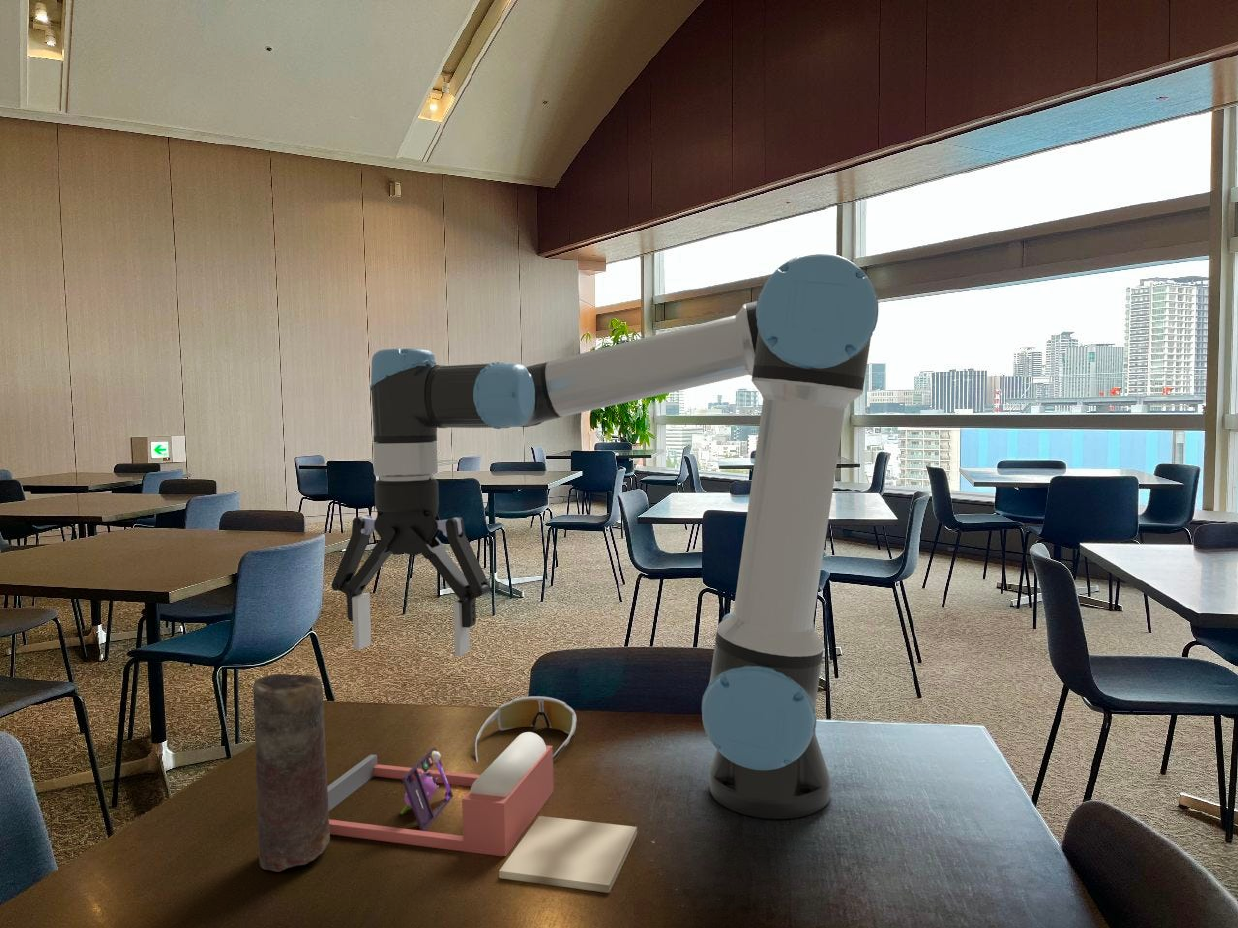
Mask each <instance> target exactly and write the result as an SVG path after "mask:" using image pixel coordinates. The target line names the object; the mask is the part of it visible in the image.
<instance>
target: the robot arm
mask: <svg viewBox="0 0 1238 928" xmlns="http://www.w3.org/2000/svg"><path fill="white" fill-rule="evenodd" d="M878 320H879V301H878V296H877V294H876V290H875V288H874V286H873V283H872V282H871V280H870V279H869V277H868V276H867V274H866V273H865V272H864V270H862V269H861V268H860V267H859V266H858V265H857V264H855V263H854V261H853V262H852V261H851V260H850V259H848V258H845V257H843V256H840V255H836V254H834V253H829V252H811V253H805V254H802V255H797V256H795V257H794V258H791V259H789V260H787V261H786V262H785V263H783V264H782V265H780V266H778V267H777V269H775V270H774V272H773V273H771V275H770V276H769V277H768V279H767V280H766V282H765V284H764V285H763V288H762V290H761V292H760V293H759V295H758V298H757V300H756V301H752V302H748V303H744V304H743V305H742V306H741V308H740V309H739V311H738V312H737V313H736V314H735V315H731V316H727V317H722V318H718V319H715V320H711V321H706V322H703V323H699V324H695V325H690V326H687V327H682V328H678V329H674V330H670V331H666V332H662V333H658V334H654V335H650V336H646V337H643V338H642V337H641V338H637V339H635V340H630V341H627V342H626V341H625V342H622V343H618V344H614V345H610V346H606V347H601V348H598V349H593V350H590V351H586V352H581V353H578V354H573V355H569V356H566V357H560V358H557V359H553V360H550V361H547V362H542V363H537V364H532V365H529V366H525V365H523V364H520V363H507V362H499V361H495V362H491V363H474V364H457V365H443V364H442V365H441V364H437V362H436V359H435V354H434V353H433V352H432V350H428V349H423V348H387V349H380V350H377V351H376V352H375V353H374V354H373V356H372V359H371V372H370V373H371V374H370V377H371V378H370V385H369V390H370V392H371V409H372V411H371V412H372V427H373V429H372V430H373V444H372V447H373V449H372V451H373V453H372V454H373V475H374V476H376V477H379V479H377V480H376V481H375V482H374V505H375V509H376V512H377V513H376V515H377V516H376V517H374V518H373V517H372V516H371V515H369V514H366V515H363V516H362V515H361V516H358V517H357V516H356V517H354V519H353V520H352V527H351V537H350V539H349V541H348V543H347V546H346V549H345V551H344V553H343V555H342V557H341V558H342V559H341V561H340V563H339V565H338V567H337V570H336V573H335V575H334V577H333V580H332V582H331V588H332V590H333V591H338V592H342V593H344V594H345V596H346V608H347V609H346V610H347V619H348V621H349V622H352V627H353V629H352V631H353V650H355V651H360V650H362V649H364V648H366V647H368V646H370V645H371V644H372V624H371V623H372V622H371V621H372V620H371V618H372V617H371V598H370V597H371V595H370V592H366V590H367V589H366V587H367V586H368V585H369V583H370V582H372V580H373V578H374V577H375V575H376V574H377V573H378V572H379V570H380V568H382V566H383V565H384V564H385V562H386V561H387V559H388V558H389V557H390V556H391V555H392V554H393V555H394V556H395V555H398V556H400V555H402V554H406V555H410V556H418V555H422V557H423V558H425V559H426V560H428V561H429V562H430V563H431V564H432V566H433V568H435V570H436V571H437V572H438V574H439V575H440V576H441V577H442V579H443V580H444V582H446V584H447V585H448V587H449V588H450V589H451V590H452V591H453V593H454V594H455V595H456V597H457V598H458V599H456V600H455V601H453V603H452V604H453V605H452V607H453V611H452V612H453V638H454V642H453V644H454V645H453V646H454V648H453V649H454V657H462V656H464V655H465V654H467V653H469V652H470V651H471V634H470V633H471V630H470V628H471V627H473V626H475V624H476V622H477V617H476V616H477V609H476V605H477V603H476V602H477V601H476V600H477V598H480V597H482V596H483V595H486V594H487V593H489V592H490V591H491V585H490V582H489V581H488V579H487V577H486V575H485V572H484V571H483V568H482V566H481V564H480V562H479V560H478V558H477V556H476V554H475V552H474V549H473V548H472V546H471V544H470V541H469V539H468V537H467V536H466V530H465V521H464V519H463V518H462V517H461V516H456V517H453V518H449V519H441V518H440V516H439V506H440V501H439V497H440V495H439V494H440V493H439V481H438V480H437V478H434V475H436V474H437V473H438V470H439V469H438V468H439V467H438V463H439V462H438V429H449V428H451V429H454V428H455V429H457V428H458V429H462V428H463V429H491V428H492V429H496V430H500V429H510V428H519V427H520V428H529V427H534V426H535V427H536V426H538V425H541V424H543V423H544V422H548V421H552V420H557V419H559V418H563V417H567V416H573V415H576V414H581V413H585V412H589V411H594V410H599V409H603V408H607V407H608V408H609V407H612V406H616V405H621V404H625V403H629V402H634V401H639V400H644V399H647V398H651V397H655V396H661V395H664V394H670V393H674V392H678V391H683V390H687V389H691V388H696V387H700V386H704V385H705V386H706V385H709V384H714V383H718V382H722V381H726V380H727V381H728V380H733V379H736V378H740V377H744V376H751V382H752V384H753V385H754V386H755V387H756V388H757V390H758V392H759V393H760V394H761V397H762V405H761V412H760V413H761V414H760V420H759V427H758V435H757V442H756V448H755V454H754V455H755V456H754V462H753V470H752V471H753V472H752V477H751V483H750V484H751V485H750V491H749V497H748V498H749V499H748V507H747V512H746V513H747V514H746V520H745V527H744V534H743V543H742V549H741V554H740V555H741V556H740V562H739V569H738V576H737V577H738V578H737V584H736V585H737V586H736V590H735V591H736V592H735V597H734V598H735V600H734V606H733V611H732V612H729V613H727V614H726V613H725V615H724V616H723V617H722V621H720V622H719V623H718V624H717V627H716V636H715V640H714V641H715V643H714V649H713V656H712V663H711V670H710V677H709V683H708V685H707V687H706V689H705V692H704V693H703V696H702V701H701V714H702V715H701V716H702V725H703V728H704V731H705V733H706V735H707V737H708V740H709V741H710V742H711V744H712V745H713V746H714V748H715V749H716V750H715V753H714V757H713V759H712V763H711V765H710V768H709V791H710V794H711V796H712V797H713V799H714V800H715V801H716V802H717V803H719V804H720V805H722V806H723V807H725V808H726V809H729V810H731V811H733V812H736V813H739V814H742V815H745V816H750V817H754V818H761V819H771V820H786V819H796V818H797V819H798V818H801V817H806V816H809V815H813V814H814V813H818V812H819V811H820V810H823V808H825V807H826V806H827V805H828V803H829V802H830V799H831V776H830V774H829V771H828V768H827V765H826V761H825V759H824V756H823V752H822V749H821V746H820V743H819V741H818V738H817V733H816V732H817V731H816V727H817V714H816V705H817V697H818V691H819V684H820V677H821V671H822V663H823V656H824V650H825V644H824V641H823V640H822V639H821V638H820V636H819V635H818V633H817V632H816V631H815V630H816V626H815V622H814V620H815V612H816V605H817V599H818V591H819V584H820V579H821V572H822V567H823V566H822V564H823V559H824V558H823V557H824V551H825V545H826V537H827V533H828V531H827V530H828V524H829V519H830V511H831V505H832V504H831V503H832V499H833V493H834V492H833V491H834V484H835V477H836V472H837V471H836V470H837V464H838V457H839V451H840V446H841V444H840V443H841V438H842V431H843V425H844V419H845V418H844V417H845V411H846V408H847V407H848V405H850V404H851V403H852V402H854V401H855V400H857V398H859V397H860V396H862V395H863V393H864V392H863V391H864V384H865V379H866V373H867V366H868V359H869V354H870V346H871V339H872V336H873V332H875V330H876V328H877V323H878ZM374 532H376V533H377V534H378V536H379V540H378V542H377V543H376V544H375V546H374V547H373V548H372V549H371V553H370V555H369V556H368V557H367V559H366V560H365V561H364V562H363V564H362V565H361V567H360V568H359V566H360V563H361V562H362V561H361V560H362V558H363V556H364V554H365V551H366V549H367V547H368V543H369V542H370V539H371V536H372V534H373V533H374ZM440 532H442V534H443V536H445V537H446V538H447V542H448V544H449V547H450V548H451V551H452V553H453V555H454V556H455V559H456V561H457V563H458V565H459V566H458V565H457V564H456V562H455V561H454V560H453V558H452V557H451V556H450V555H449V553H447V551H446V548H445V545H444V544H443V543H442V542H441V540H440V539H439V538H438V535H440ZM459 567H460V568H459ZM358 568H359V569H358ZM357 570H358V571H357Z"/></svg>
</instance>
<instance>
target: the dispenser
mask: <svg viewBox="0 0 1238 928" xmlns="http://www.w3.org/2000/svg"><path fill="white" fill-rule="evenodd" d="M553 748H554V746H553V745H546V743H545V741H544V739H543V738H542V737H541V736H540V735H538V734H537V733H535V732H532V731H527V732H526V731H525V732H522V733H520V734H519V735H517V736H516V738H515V739H514V740H513V741H512V742H511V743H510V744H509V745H508V746H507V747H506V748H505V749H504V750H503V752H501V754H499V755H498V756H497V757H496V758H495V760H493V762H492V763H490V765H489V766H488V767H487V768H486V769H485V770H484V771H483V772H482V773H481V774H478V773H477V774H476V773H466V772H456V771H455V772H454V771H445V770H444V772H445V775H446V777H447V780H448V783H449V785H454V786H455V785H456V786H465V787H470V791H468V792H467V793H466V794H465V795H464V796H463V798H462V799H461V802H462V803H461V805H462V806H461V807H462V810H461V811H462V832H463V833H462V835H459V834H452V833H451V834H450V833H442V832H434V831H428V830H427V831H426V830H425V831H421V830H420V829H419V830H417V829H409V828H404V827H403V828H402V827H394V826H387V825H386V826H385V825H378V824H370V823H369V824H368V823H363V822H362V823H361V822H354V821H353V822H352V821H345V820H337V819H330V818H329V831H330V835H334V836H335V835H336V836H341V837H342V836H343V837H349V838H350V837H351V838H357V839H365V840H374V841H381V842H389V843H395V844H396V843H397V844H403V845H410V846H411V845H412V846H419V847H427V848H435V849H443V850H449V851H458V852H465V853H473V854H482V855H488V856H489V855H490V856H496V857H497V856H498V857H503V856H505V857H504V858H506V857H507V855H509V853H510V852H511V850H512V849H513V848H514V846H515V844H516V843H518V841H519V839H521V836H522V835H523V834H524V833H525V831H526V829H527V828H528V827H529V826H530V824H531V823H532V821H533V820H534V819H535V818H536V816H537V815H538V813H539V812H540V810H541V809H542V808H543V806H544V805H545V804H546V803H547V801H548V799H550V797H551V796H552V794H553V793H554V787H555V786H554V785H555V784H554V760H553V755H554V749H553ZM412 768H413V767H407V766H406V767H405V766H397V765H396V766H395V765H390V764H389V765H387V764H378V754H369V755H368V756H366V757H365V758H364V759H362V760H361V761H359V762H358V763H357V764H356V765H354V766H353V767H352V768H350V769H349V770H347V771H346V772H345V773H344V774H342V775H341V776H339V777H338V778H337V779H335V780H334V781H333V782H331V783H330V784H328V785H327V790H328V808H329V812H330V811H332V810H333V809H334V808H336V807H337V806H338V805H340V803H342V802H343V801H344V800H345V799H346V798H348V797H350V795H352V794H353V793H354V792H355V791H357V790H358V789H360V788H361V787H362V786H364V785H365V784H366V783H368V781H370V780H371V779H372V778H373V777H379V778H381V777H382V778H390V779H397V780H402V778H403V777H404V776H405V775H406V774H407V773H408V772H409V771H410V770H411V769H412ZM417 770H418V773H419V774H422V772H423V774H426V773H429V772H430V771H431V773H430V774H431V775H432V776H433V777H434V778H438V780H437V781H436V784H444V782H443V779H442V777H441V774H440V772H439V770H438V769H437V770H436V769H428V771H427V772H426V773H425V772H424V771H423V769H422V768H419V767H418V768H417Z"/></svg>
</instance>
